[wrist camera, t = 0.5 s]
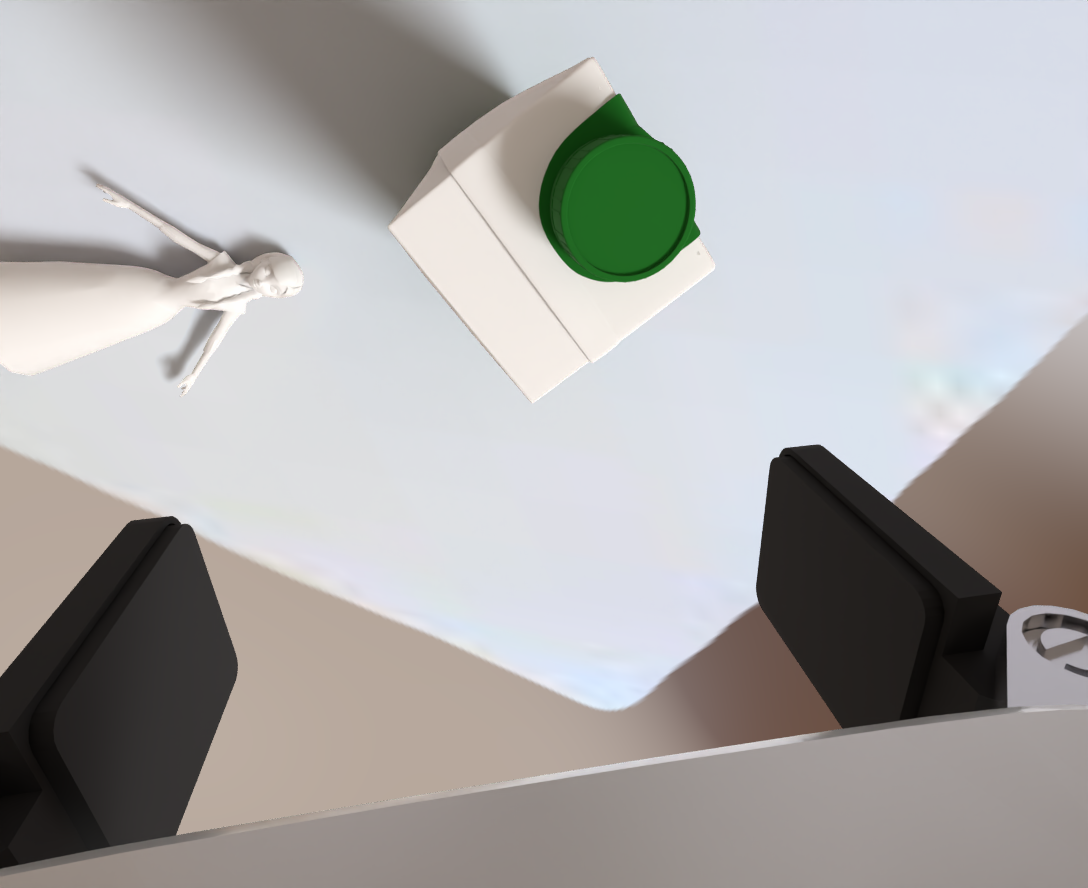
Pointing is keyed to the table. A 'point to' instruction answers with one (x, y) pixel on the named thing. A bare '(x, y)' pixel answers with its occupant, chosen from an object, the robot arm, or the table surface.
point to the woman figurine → (125, 300)
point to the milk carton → (555, 227)
